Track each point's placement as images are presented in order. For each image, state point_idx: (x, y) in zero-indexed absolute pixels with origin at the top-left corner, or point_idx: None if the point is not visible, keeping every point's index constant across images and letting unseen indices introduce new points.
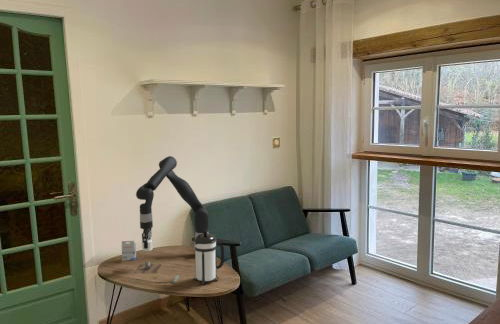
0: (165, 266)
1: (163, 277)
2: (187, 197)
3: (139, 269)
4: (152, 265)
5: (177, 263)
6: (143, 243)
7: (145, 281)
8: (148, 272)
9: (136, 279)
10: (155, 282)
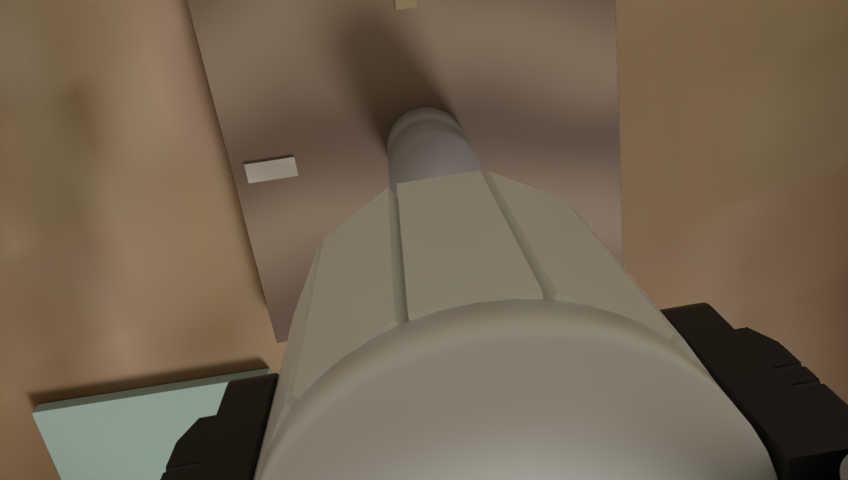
0: None
1: None
2: None
3: (367, 8)
4: (569, 166)
5: None
6: (273, 444)
7: (44, 263)
8: (272, 223)
9: (62, 96)
10: (36, 414)
